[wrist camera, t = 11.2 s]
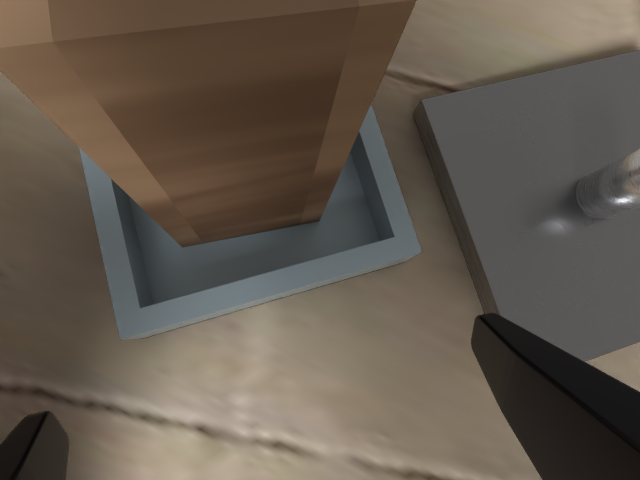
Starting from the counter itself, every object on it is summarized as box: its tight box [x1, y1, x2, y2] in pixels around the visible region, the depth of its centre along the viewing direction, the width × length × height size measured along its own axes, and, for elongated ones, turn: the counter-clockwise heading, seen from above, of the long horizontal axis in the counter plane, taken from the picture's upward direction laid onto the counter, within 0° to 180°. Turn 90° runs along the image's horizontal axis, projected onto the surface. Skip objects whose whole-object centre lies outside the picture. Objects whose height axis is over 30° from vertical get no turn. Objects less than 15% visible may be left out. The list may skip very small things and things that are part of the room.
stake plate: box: [413, 50, 640, 362], centre depth 17 cm, size 12×12×5 cm
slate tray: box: [79, 105, 422, 340], centre depth 17 cm, size 11×11×2 cm
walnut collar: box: [0, 0, 416, 248], centre depth 12 cm, size 5×5×12 cm
